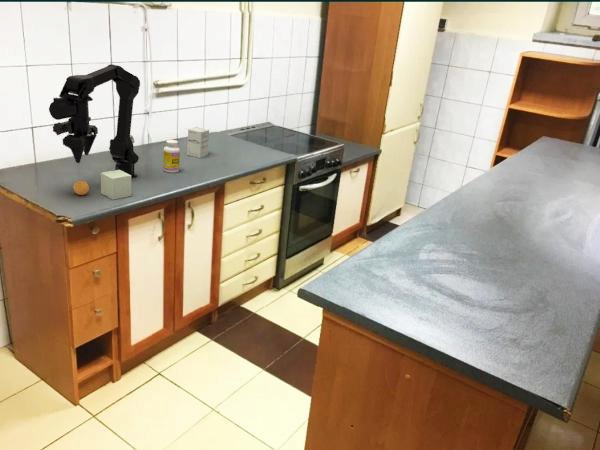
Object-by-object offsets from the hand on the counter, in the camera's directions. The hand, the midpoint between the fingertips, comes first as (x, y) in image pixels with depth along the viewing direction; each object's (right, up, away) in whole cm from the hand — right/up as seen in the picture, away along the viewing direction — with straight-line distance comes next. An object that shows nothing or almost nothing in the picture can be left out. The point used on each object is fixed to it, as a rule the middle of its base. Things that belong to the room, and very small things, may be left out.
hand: (82, 158), depth 181 cm
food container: (+1, +5, +43) cm, 44 cm away
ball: (-1, -10, 0) cm, 10 cm away
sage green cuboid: (+10, -12, +5) cm, 17 cm away
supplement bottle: (+22, 0, +38) cm, 44 cm away
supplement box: (+28, +10, +63) cm, 70 cm away
